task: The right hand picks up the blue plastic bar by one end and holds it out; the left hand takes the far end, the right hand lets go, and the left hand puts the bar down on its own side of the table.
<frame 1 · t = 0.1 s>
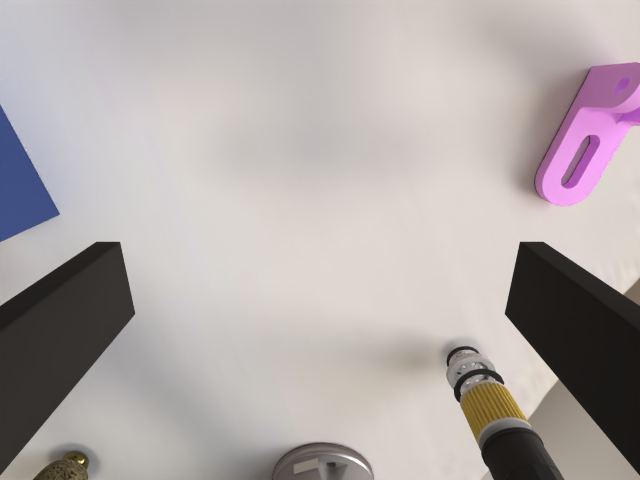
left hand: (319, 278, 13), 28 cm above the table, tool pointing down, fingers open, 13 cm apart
bracket: (579, 142, 38), on the table
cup: (79, 457, 55), on the table
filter: (459, 353, 48), on the table
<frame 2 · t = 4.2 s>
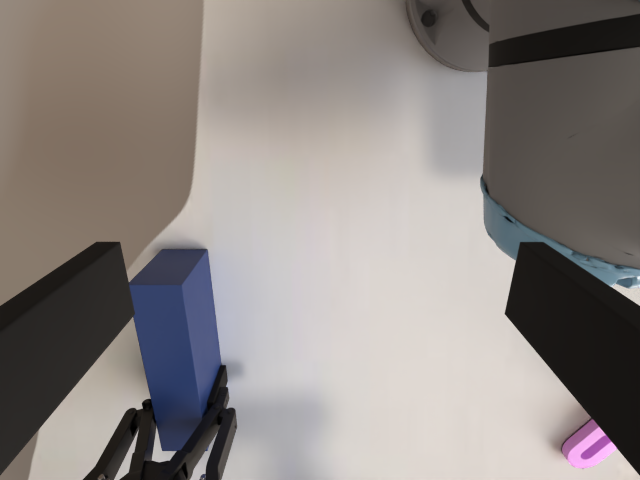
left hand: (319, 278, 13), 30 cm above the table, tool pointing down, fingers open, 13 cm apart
bracket: (598, 430, 56), on the table
bar: (196, 328, 49), on the table, touching right hand
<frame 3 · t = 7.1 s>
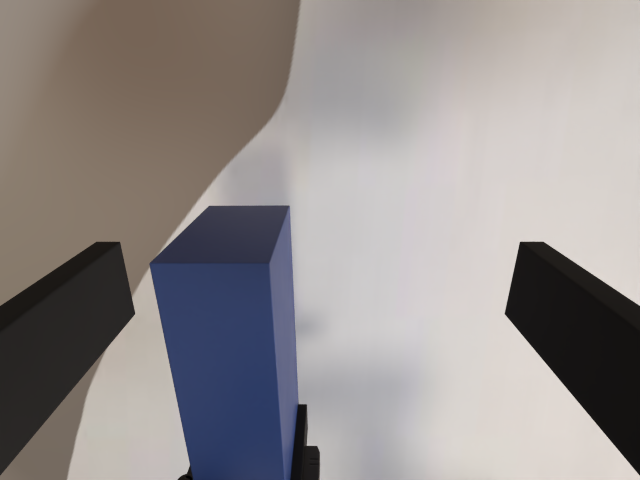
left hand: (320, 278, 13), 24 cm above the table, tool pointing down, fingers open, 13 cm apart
bar: (261, 344, 29), point 12 cm above the table, touching right hand
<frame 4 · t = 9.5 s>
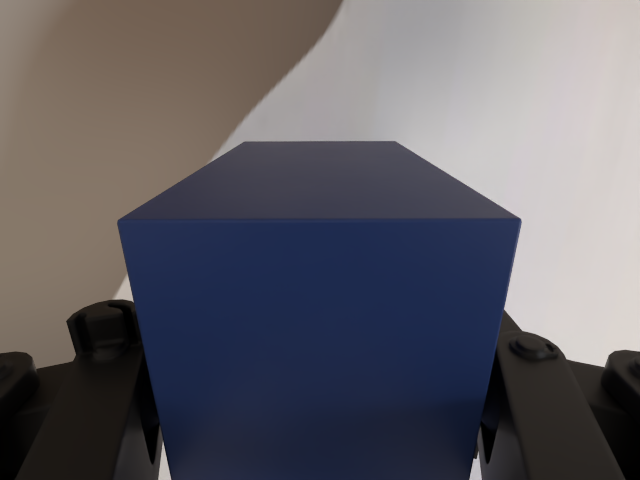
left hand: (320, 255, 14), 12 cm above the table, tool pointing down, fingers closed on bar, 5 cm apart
bar: (320, 389, 18), point 12 cm above the table, touching left hand, right hand
when the right hand's fingers open (12 cm above the table, at t = 10.2 s): bar stays where it is, held by the left hand.
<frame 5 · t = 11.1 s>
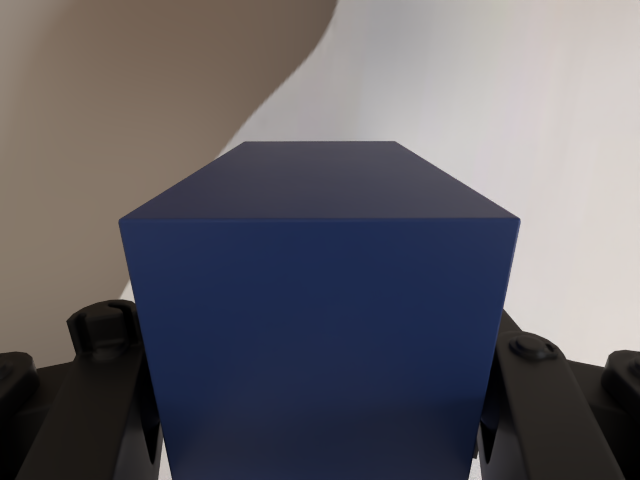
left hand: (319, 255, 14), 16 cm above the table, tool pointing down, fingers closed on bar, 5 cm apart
bar: (320, 389, 18), point 16 cm above the table, touching left hand
when the left hand's fingers open (2 cm above the table, at t = 17.8 s): bar drops 1 cm, on the table.
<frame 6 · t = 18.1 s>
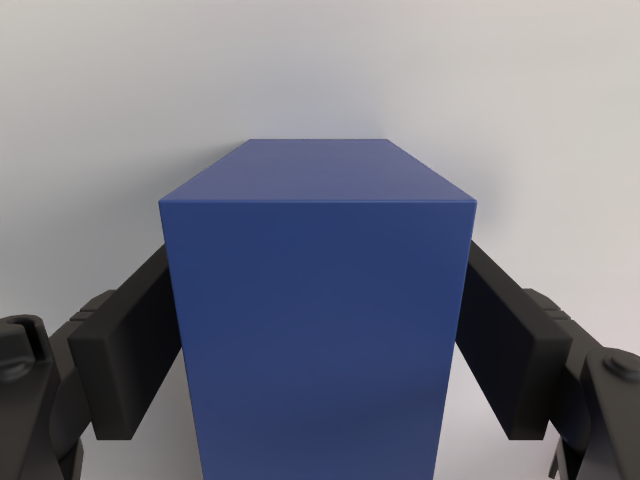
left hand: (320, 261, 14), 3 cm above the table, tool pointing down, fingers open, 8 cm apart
bar: (318, 369, 19), on the table
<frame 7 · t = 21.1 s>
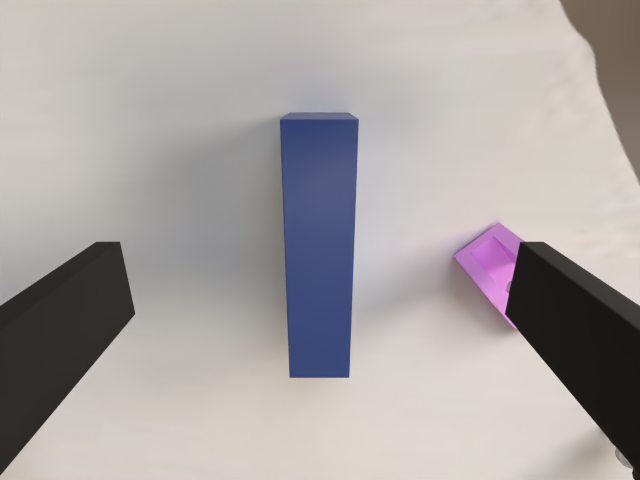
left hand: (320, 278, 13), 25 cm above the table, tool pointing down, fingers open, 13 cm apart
bracket: (507, 280, 41), on the table
bar: (319, 228, 39), on the table
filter: (618, 424, 48), on the table
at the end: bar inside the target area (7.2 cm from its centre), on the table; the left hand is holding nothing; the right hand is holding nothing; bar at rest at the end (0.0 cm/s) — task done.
